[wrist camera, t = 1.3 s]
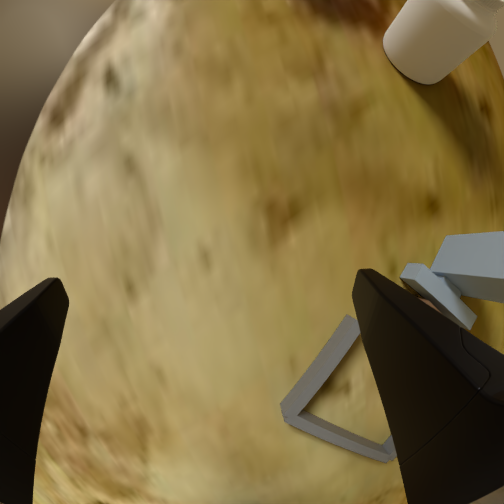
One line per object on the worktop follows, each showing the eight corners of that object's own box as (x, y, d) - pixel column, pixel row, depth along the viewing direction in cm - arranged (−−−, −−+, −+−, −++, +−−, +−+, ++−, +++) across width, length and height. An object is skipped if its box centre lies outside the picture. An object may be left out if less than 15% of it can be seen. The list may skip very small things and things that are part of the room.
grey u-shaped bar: (381, 454, 24) (389, 464, 22) (276, 407, 23) (279, 419, 21) (440, 379, 24) (451, 385, 22) (346, 314, 24) (355, 319, 22)
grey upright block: (454, 325, 24) (534, 351, 13) (399, 277, 24) (488, 291, 13) (480, 272, 24) (560, 279, 13) (429, 219, 24) (517, 205, 13)
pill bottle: (380, 21, 24) (435, -62, 9) (437, 50, 24) (505, -15, 9) (378, 66, 24) (453, -27, 9) (441, 98, 24) (530, 34, 9)
